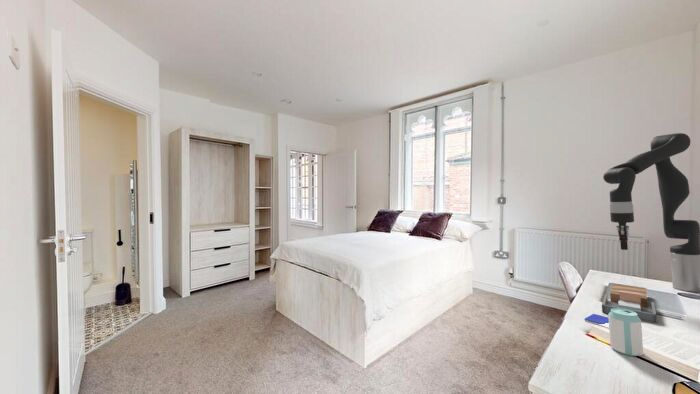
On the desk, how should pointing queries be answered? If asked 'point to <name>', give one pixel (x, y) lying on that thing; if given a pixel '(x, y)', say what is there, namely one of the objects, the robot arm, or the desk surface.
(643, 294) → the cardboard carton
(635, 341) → the can
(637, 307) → the tile
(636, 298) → the tile
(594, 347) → the desk surface
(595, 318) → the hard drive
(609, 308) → the box
